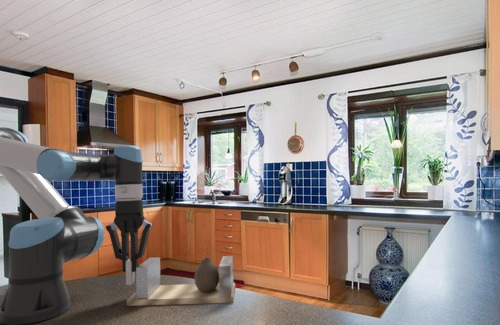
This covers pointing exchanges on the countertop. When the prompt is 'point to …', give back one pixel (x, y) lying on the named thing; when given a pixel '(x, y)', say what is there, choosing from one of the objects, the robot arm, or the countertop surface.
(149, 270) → the block
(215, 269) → the vase
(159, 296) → the vise
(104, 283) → the countertop surface
